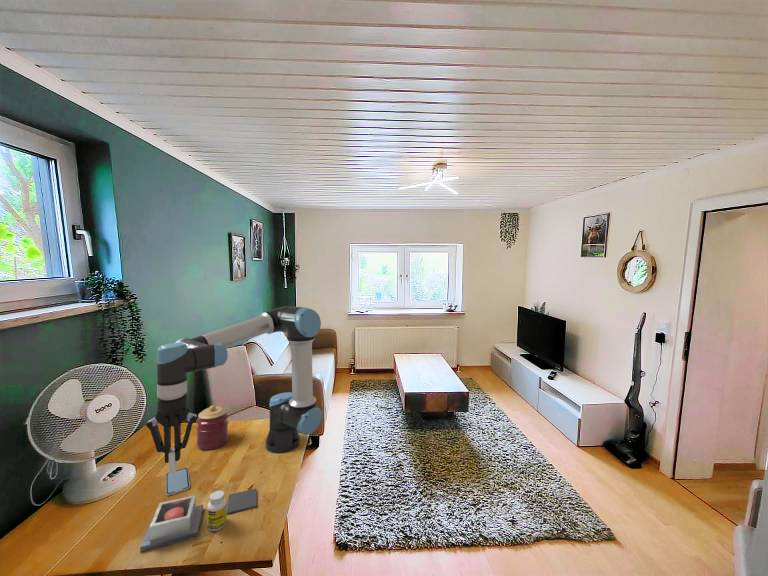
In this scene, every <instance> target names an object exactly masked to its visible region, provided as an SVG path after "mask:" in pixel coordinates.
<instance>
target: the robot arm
mask: <svg viewBox="0 0 768 576" xmlns="http://www.w3.org/2000/svg"><path fill="white" fill-rule="evenodd" d="M321 327H322V321H321V318H320V315H319V313H318V312H316V310H314V309H313V308H309V307H303V306H302V307H301V306H294V305H293V306H292V305H283V306H281V307H277V308H274V309H271V310H268V311H264V312H262V313H261V314H260V315H259V316H257V317H254V318H249V319H247V320H244V321H241V322H238V323H236V324H232V325H229V326H226V327H224V328H223V327H222V328H220V329H218V330H214V331H211V332H209V333H204V334H202V335H198V336H196V337H193V338H189V337H188V338H187V337H185V338H184V337H183V338H179V339H177V340H176V341H175V342H172V343H165V344H162V345H160V346H159V347H158V348H157V350H156V351H157V353H156V361H155V362H156V397H157V399H156V407H157V408H156V410H157V411H156V414H155V416H154V417H153V418H150V419H149V420H148V421H147V422H146V424H145V426H146V427H147V428H148V430H149V432H150V434H151V436H152V440H153V443H154V446H155V449H156V453H164V463H165V464H168V472H169V474H175V471H176V470H178V468H177V467H178V465H177V462H179V461H180V459H181V450H182V449H185V448H187V445H188V442H189V438H190V435H191V431H192V428H193V424H194V422H196V420H197V418H198V414H197V413H196V412H195V413H191V412H190V410H189V407H188V394H187V393H188V373H189V374H190V373H194V372H198V371H203V370H208V369H214V368H216V367H220V366H224V365H225V364H226V362H227V361H228V354H229V353H228V349H227V348H229V347H232V346H236V345H237V344H240V343H241V344H242V343H243V342H246V341H249V340H251V339H254V338H257V337H259V336H262V335H264V334H267V335H271V334H273V333H278V332H279V333H282V332H284V333H286V337H287V338H286V340H287V341H288V343H290V349H291V350H290V351H291V352H290V353H291V387H292V388H291V392H289V391H287V392H280V393H277V394H275V395H272V396H271V398H270V399H269V405H268V407H269V430H268V433H267V436H266V439H265V445H264V447H265V450H267V451H268V452H270V453H277V454H280V453H281V452H283V453H287V452H290V451H292V450H291V449H293V450H294V449H296V448H297V447H298V446H299V445H300V442H301V441H300V439H301V437H300V435H301V434H302V435H311V434H313V433H314V432H315V431H316V430H317V429H318V428H319V426H320V424H321V422H322V419H323V411H322V410H321V408H319V407H318V406H317V398H316V397H315V396H314V394H313V393H314V391H313V390H314V388H313V386H314V385H313V342H314V341H315V340H316V336H317V335H318V334H319V332H320V331H319V330H321ZM185 419H187V425H186V429H185V433H184V435H183V439H182V435H181V431H182V427H181V426H182V424H183V422H184V420H185ZM158 423H159V424H160V425H161V426H162V427H163V438H162V435H161V432H160V428H159V426H158ZM172 427H173V430H174V431H173V434H174V436H173V439H174V443H173V444H174V448H172ZM162 439H163V440H162ZM298 444H299V445H298ZM295 447H296V448H295ZM289 450H290V451H289ZM286 451H287V452H286ZM281 454H282V453H281Z"/></svg>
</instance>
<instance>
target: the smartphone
mask: <svg viewBox="0 0 768 576" xmlns="http://www.w3.org/2000/svg"><path fill="white" fill-rule="evenodd" d="M190 481H191V480H190V475H189V467H183V468H180V469H176V471H175V474H169V471H168V472H166V473H165V496H166V497H169V496H172V495H177V494H180V493H182V492H185V491H188V490H190V489H191V483H190Z"/></svg>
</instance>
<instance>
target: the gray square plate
mask: <svg viewBox="0 0 768 576" xmlns="http://www.w3.org/2000/svg"><path fill="white" fill-rule="evenodd" d="M254 507H255V508H257V488H252V489H247V490H243V491H239V492H235V493H229V494H228V500H227V515H230V514H234V513H239V512H243V511H246V510H250V509H254Z"/></svg>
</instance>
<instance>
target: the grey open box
mask: <svg viewBox="0 0 768 576" xmlns="http://www.w3.org/2000/svg"><path fill="white" fill-rule="evenodd" d="M176 507H182V508H183V509H184V516H183V517H180V518H175V519H171V520H167V521H164V516H165V514H166V513H167V512H168V511H169V510H171V509H173V508H176ZM203 512H204V504H200V505H197V497H196V494H194V495H189V496H186V497H181V498H176V499H172V500H166V501H162V502H159V503H158V505H157V508H156V511H155V513H154V515H153V516H152V517H151V520H150V523H149V525H148V527H147V529H146V532H145V534H144V537H143V539H142V542H141V544H140V547H139V552H140V553H142V552H145V551H150V550H154V549H157V548H161V547H165V546H169V545H173V544H176V543H180V542H183V541H188V540H192V539H195V538H198V535H199V531H200V526H201V521H202V517H203Z"/></svg>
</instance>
